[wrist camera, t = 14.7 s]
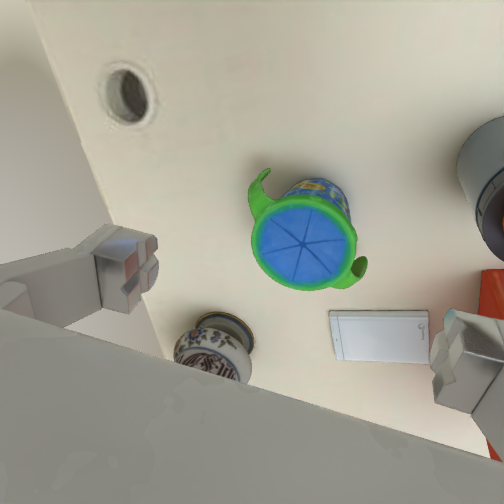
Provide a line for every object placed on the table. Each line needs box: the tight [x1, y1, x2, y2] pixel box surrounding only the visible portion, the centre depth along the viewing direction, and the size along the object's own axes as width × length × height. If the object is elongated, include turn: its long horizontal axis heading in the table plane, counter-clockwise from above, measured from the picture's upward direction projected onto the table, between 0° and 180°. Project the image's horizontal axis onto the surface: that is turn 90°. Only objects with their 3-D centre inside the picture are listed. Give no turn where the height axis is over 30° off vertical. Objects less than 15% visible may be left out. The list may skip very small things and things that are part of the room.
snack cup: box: [248, 168, 368, 291], centre depth 44 cm, size 16×10×10 cm
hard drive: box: [329, 311, 430, 364], centre depth 54 cm, size 2×8×12 cm
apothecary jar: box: [174, 312, 254, 384], centre depth 56 cm, size 12×12×18 cm
